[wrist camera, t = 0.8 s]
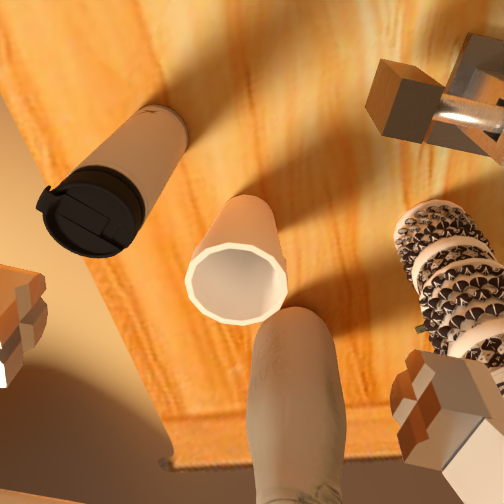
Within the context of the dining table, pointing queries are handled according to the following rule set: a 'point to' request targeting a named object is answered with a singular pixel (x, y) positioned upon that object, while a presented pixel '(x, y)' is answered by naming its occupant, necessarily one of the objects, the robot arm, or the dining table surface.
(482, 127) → the shaft
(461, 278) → the decorative candle
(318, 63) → the dining table surface
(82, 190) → the travel mug
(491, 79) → the bearing stand
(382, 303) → the dining table surface
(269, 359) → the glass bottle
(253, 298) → the foam cup
